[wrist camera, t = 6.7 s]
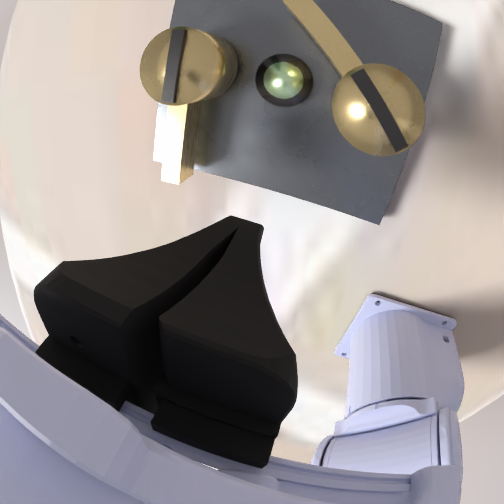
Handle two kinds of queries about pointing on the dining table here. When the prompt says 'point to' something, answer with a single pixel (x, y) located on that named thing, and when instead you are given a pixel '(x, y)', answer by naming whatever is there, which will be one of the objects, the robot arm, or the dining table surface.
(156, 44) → the rear knob
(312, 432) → the dining table surface
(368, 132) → the front knob
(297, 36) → the plate
